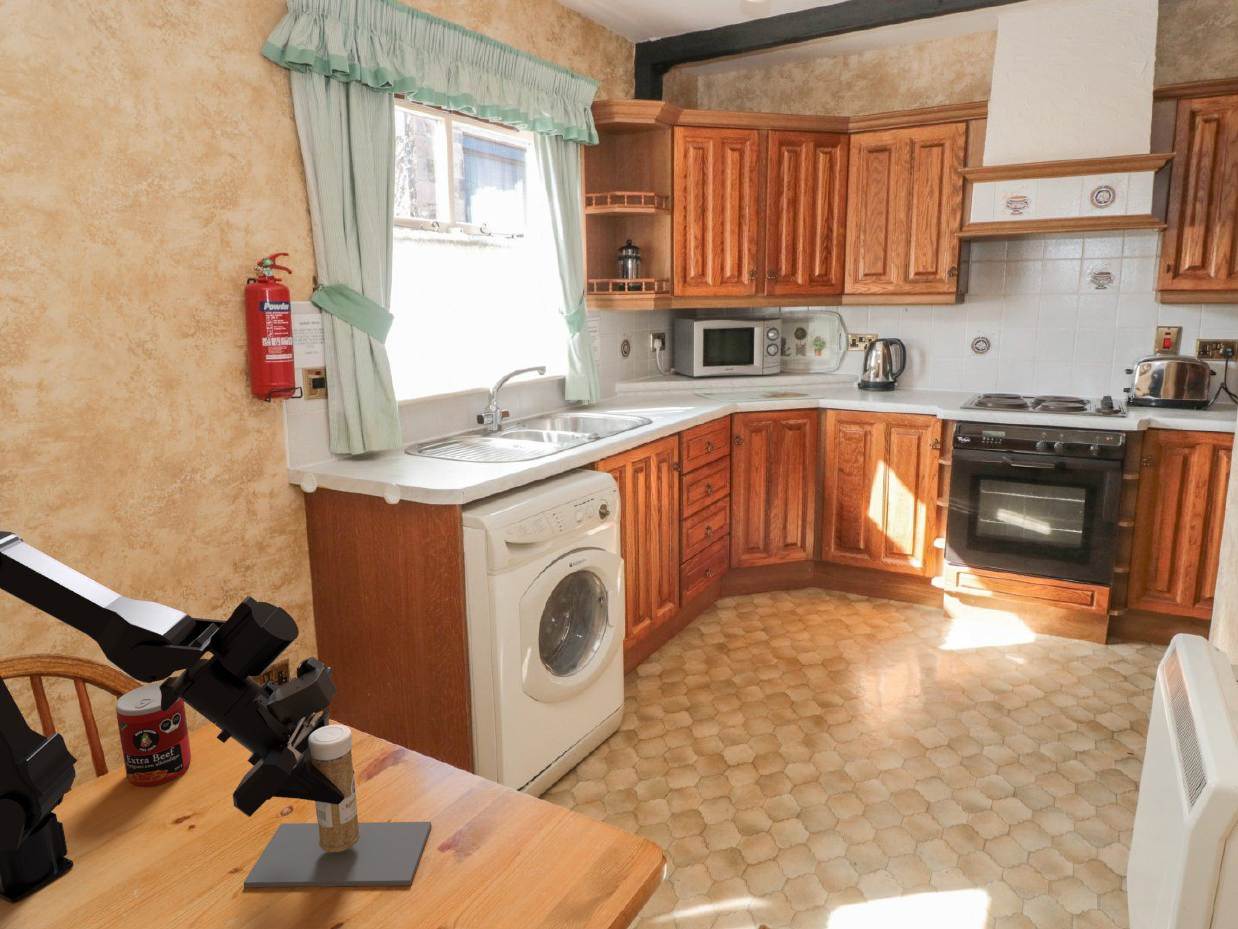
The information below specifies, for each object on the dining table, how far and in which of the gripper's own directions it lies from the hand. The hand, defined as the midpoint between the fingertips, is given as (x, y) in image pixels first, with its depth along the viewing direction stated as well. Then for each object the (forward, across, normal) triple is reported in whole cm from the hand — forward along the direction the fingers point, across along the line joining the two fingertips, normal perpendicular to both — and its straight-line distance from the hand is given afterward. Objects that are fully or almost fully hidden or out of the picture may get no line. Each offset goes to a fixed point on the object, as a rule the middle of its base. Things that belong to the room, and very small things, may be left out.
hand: (347, 788), depth 92 cm
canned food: (-15, +20, +28) cm, 37 cm away
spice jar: (+4, 0, +6) cm, 7 cm away
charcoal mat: (+5, 0, +7) cm, 8 cm away
